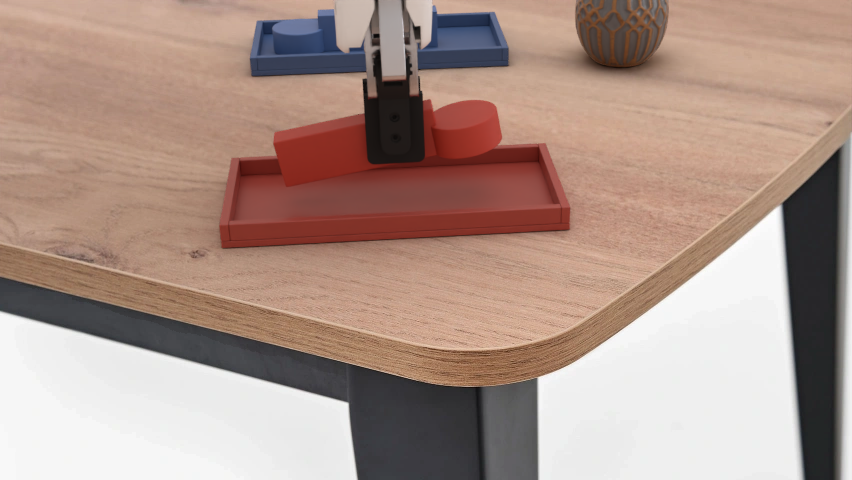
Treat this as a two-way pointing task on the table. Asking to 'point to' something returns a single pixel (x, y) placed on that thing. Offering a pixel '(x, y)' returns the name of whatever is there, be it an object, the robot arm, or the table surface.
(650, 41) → the vase
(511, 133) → the table surface
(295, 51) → the blue disc-ended bar
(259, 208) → the red tray
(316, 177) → the red disc-ended bar
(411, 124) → the robot arm
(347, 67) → the blue tray
